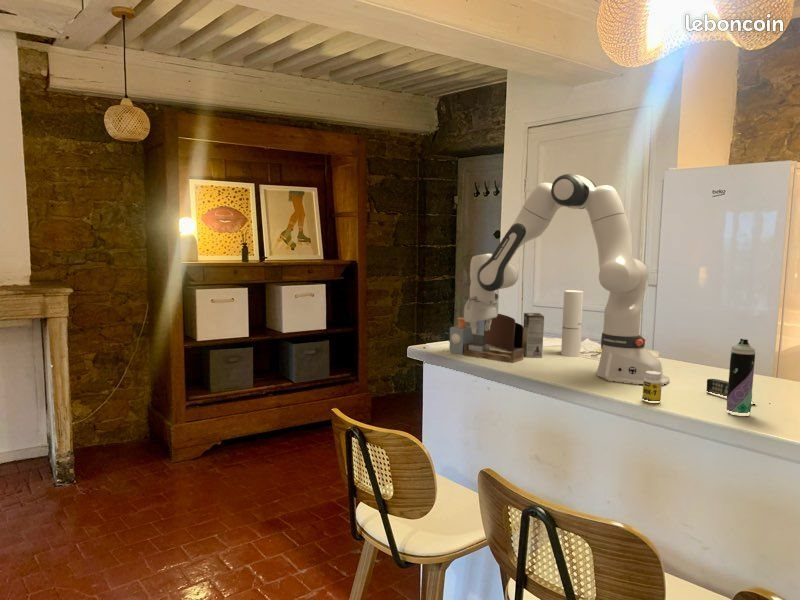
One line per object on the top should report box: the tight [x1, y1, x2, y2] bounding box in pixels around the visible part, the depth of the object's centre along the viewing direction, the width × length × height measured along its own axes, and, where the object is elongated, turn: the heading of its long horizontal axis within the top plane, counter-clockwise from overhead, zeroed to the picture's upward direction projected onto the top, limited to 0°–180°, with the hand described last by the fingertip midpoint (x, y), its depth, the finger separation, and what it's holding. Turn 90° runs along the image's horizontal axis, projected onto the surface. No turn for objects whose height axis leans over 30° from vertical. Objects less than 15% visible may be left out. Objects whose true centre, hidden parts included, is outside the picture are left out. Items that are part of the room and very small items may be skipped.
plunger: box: [457, 317, 467, 328], centre depth 231 cm, size 4×4×7 cm
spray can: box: [726, 338, 756, 413], centre depth 154 cm, size 6×6×20 cm
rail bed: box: [463, 343, 524, 364], centre depth 223 cm, size 21×8×4 cm, turn 52°
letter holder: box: [483, 313, 524, 352], centre depth 245 cm, size 10×20×14 cm, turn 29°
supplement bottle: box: [641, 371, 663, 402], centre depth 165 cm, size 5×5×8 cm
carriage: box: [468, 333, 491, 353], centre depth 227 cm, size 6×6×7 cm
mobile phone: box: [705, 378, 753, 402], centre depth 170 cm, size 5×3×15 cm
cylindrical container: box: [560, 289, 584, 358], centre depth 229 cm, size 7×7×25 cm
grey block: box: [448, 325, 473, 356], centre depth 231 cm, size 6×8×10 cm
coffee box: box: [522, 312, 545, 359], centre depth 228 cm, size 9×6×16 cm
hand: (480, 331), depth 226 cm, fingers open, 8 cm apart
